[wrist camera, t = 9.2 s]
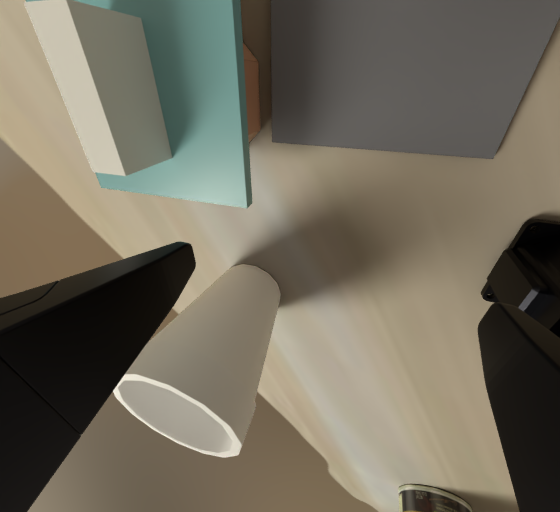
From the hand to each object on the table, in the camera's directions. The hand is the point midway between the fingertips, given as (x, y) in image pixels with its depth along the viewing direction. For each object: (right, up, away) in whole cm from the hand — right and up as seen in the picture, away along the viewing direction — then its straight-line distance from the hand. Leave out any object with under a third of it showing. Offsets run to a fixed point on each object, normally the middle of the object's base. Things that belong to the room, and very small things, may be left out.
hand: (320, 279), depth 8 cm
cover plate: (-8, +10, +6) cm, 14 cm away
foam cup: (-4, -3, +19) cm, 20 cm away
